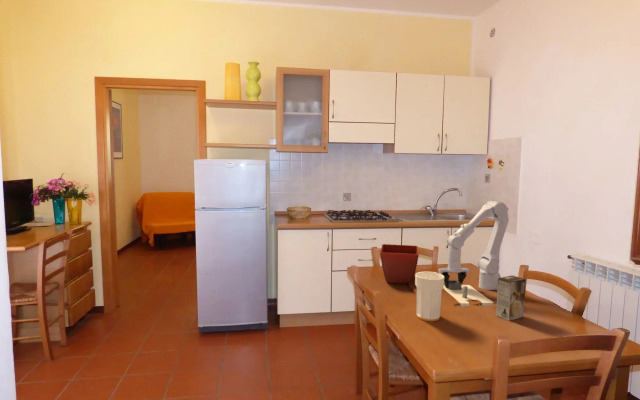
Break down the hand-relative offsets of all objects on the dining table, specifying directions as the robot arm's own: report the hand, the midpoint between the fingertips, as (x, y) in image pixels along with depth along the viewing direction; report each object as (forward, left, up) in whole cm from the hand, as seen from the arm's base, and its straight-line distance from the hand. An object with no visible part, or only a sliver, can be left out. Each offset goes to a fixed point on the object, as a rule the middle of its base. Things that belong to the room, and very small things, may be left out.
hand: (453, 287), depth 190 cm
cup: (+23, +30, -2) cm, 38 cm away
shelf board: (-2, +8, -2) cm, 9 cm away
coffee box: (-11, +31, -2) cm, 33 cm away
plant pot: (+22, -18, -2) cm, 29 cm away
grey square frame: (0, 0, 0) cm, 0 cm away
